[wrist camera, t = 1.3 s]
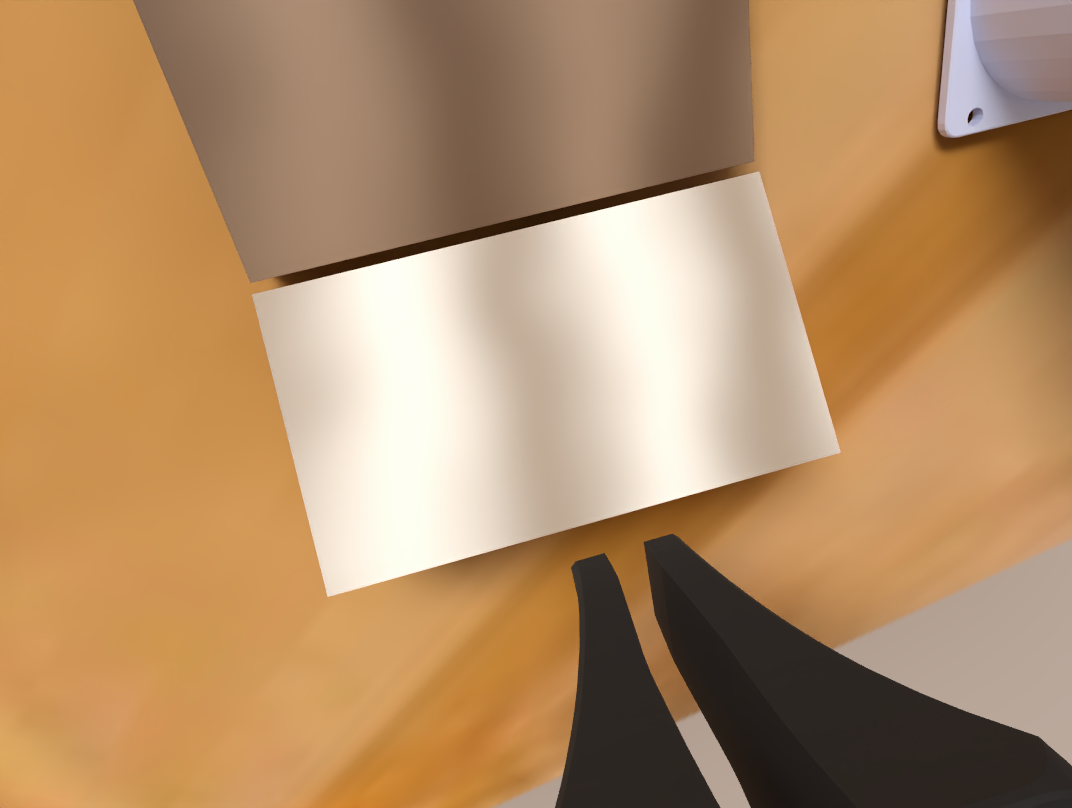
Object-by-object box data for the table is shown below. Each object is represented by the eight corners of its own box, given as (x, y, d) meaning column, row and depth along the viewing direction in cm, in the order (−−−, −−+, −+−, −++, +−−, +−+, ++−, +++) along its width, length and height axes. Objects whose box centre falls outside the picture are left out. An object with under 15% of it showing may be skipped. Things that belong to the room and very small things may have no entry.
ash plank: (732, 198, 20) (759, 171, 18) (805, 451, 19) (840, 452, 17) (278, 310, 19) (252, 294, 17) (345, 580, 18) (327, 597, 16)
